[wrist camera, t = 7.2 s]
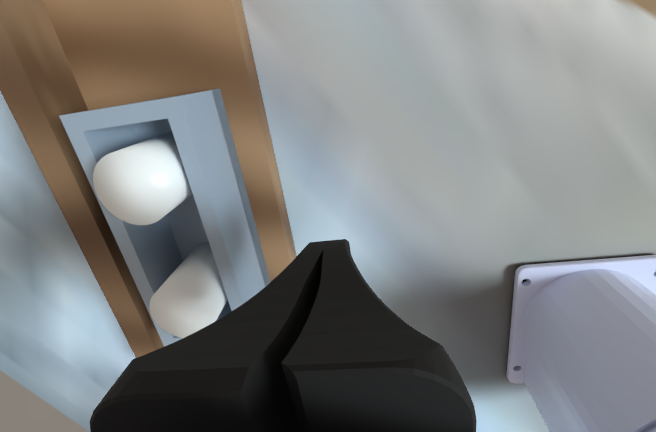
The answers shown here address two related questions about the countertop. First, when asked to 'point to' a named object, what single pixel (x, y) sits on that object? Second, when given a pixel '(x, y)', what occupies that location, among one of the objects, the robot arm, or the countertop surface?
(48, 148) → the shelf
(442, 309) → the countertop surface
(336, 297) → the robot arm
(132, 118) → the tray
